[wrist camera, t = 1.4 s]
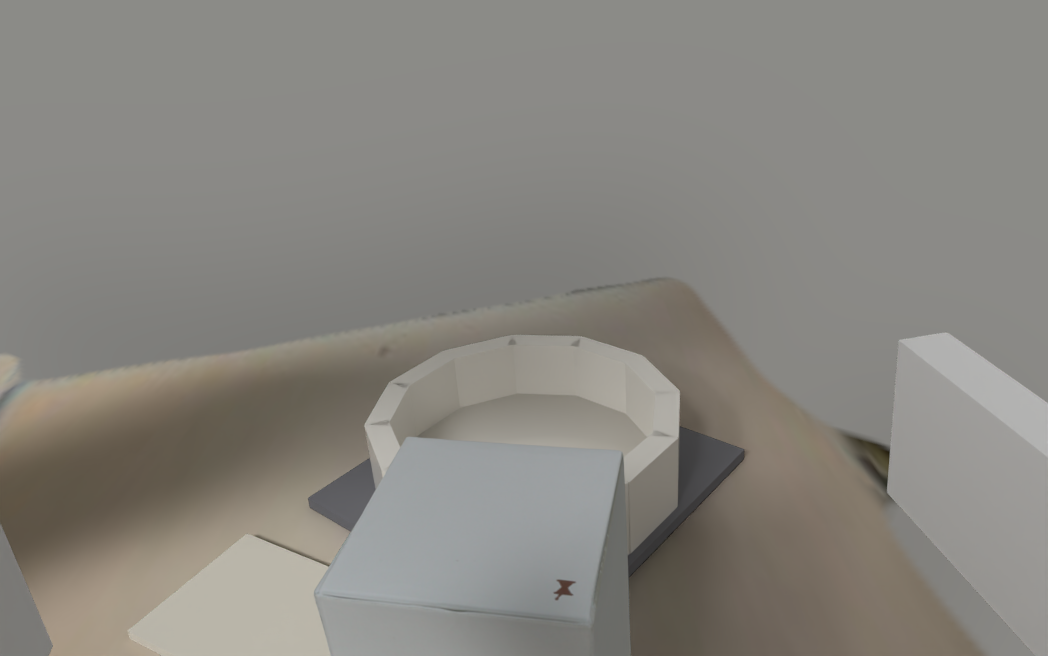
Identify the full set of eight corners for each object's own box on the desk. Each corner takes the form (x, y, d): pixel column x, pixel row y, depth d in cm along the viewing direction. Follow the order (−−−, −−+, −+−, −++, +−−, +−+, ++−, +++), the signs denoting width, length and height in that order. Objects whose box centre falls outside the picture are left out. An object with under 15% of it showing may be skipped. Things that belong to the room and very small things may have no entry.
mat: (310, 507, 46) (307, 498, 46) (512, 373, 57) (511, 365, 56) (556, 651, 37) (555, 641, 36) (743, 458, 47) (744, 449, 47)
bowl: (319, 496, 46) (305, 431, 44) (512, 370, 56) (507, 312, 54) (554, 630, 37) (548, 555, 35) (733, 450, 47) (736, 384, 45)
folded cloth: (133, 647, 39) (127, 630, 39) (251, 549, 44) (247, 533, 44) (305, 739, 34) (300, 721, 34) (414, 617, 40) (411, 600, 39)
